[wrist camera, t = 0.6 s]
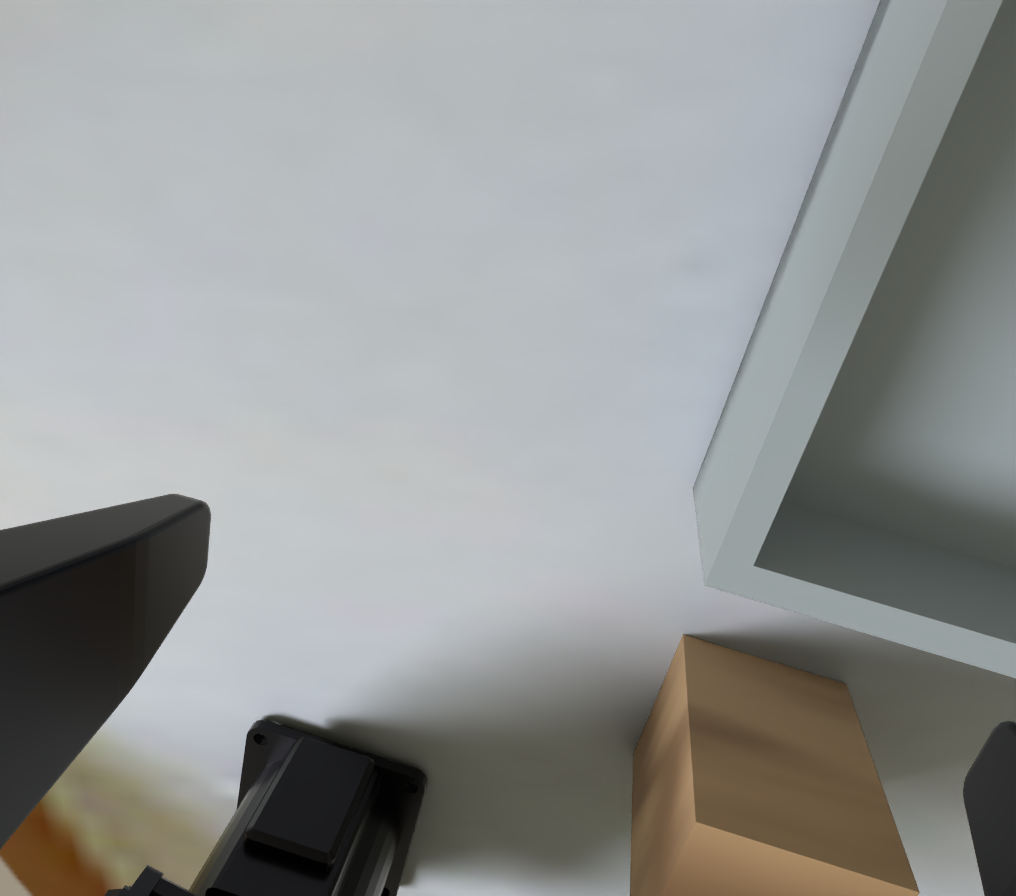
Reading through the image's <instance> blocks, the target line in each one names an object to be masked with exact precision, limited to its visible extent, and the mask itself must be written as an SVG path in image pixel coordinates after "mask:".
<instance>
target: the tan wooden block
mask: <svg viewBox="0 0 1016 896" xmlns="http://www.w3.org/2000/svg"><path fill="white" fill-rule="evenodd" d="M919 893H920V892H919V890H918V887H917V884H916V881H915V878H914V875H913V873H912V870H911V867H910V864H909V861H908V858H907V856H906V853H905V850H904V847H903V844H902V841H901V839H900V836H899V833H898V830H897V827H896V824H895V822H894V819H893V816H892V813H891V810H890V807H889V805H888V802H887V799H886V796H885V793H884V790H883V788H882V785H881V782H880V779H879V776H878V773H877V771H876V768H875V765H874V762H873V759H872V756H871V753H870V751H869V748H868V745H867V742H866V739H865V736H864V734H863V731H862V728H861V725H860V722H859V719H858V717H857V714H856V711H855V708H854V705H853V702H852V700H851V697H850V694H849V691H848V688H847V685H846V684H845V683H842V682H839V681H835V680H832V679H829V678H825V677H822V676H819V675H815V674H812V673H809V672H806V671H802V670H799V669H796V668H792V667H789V666H786V665H782V664H779V663H776V662H773V661H769V660H766V659H763V658H759V657H756V656H753V655H749V654H746V653H743V652H740V651H736V650H733V649H730V648H726V647H723V646H720V645H716V644H713V643H710V642H707V641H703V640H700V639H697V638H693V637H690V636H687V635H683V636H682V638H681V641H680V643H679V645H678V648H677V650H676V653H675V655H674V657H673V660H672V662H671V665H670V667H669V670H668V672H667V674H666V677H665V679H664V682H663V684H662V686H661V689H660V691H659V694H658V696H657V698H656V701H655V703H654V706H653V708H652V711H651V713H650V715H649V718H648V720H647V723H646V725H645V727H644V730H643V732H642V735H641V737H640V739H639V742H638V744H637V747H636V749H635V752H634V754H633V789H632V831H631V873H630V896H918V894H919Z"/></svg>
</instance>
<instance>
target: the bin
mask: <svg viewBox="0 0 1016 896" xmlns="http://www.w3.org/2000/svg"><path fill="white" fill-rule="evenodd" d="M693 494H694V502H695V510H696V519H697V527H698V536H699V544H700V552H701V561H702V569H703V577H704V585H705V586H709V587H712V588H715V589H719V590H722V591H725V592H729V593H732V594H735V595H739V596H742V597H745V598H749V599H752V600H755V601H759V602H762V603H765V604H769V605H772V606H775V607H779V608H782V609H785V610H789V611H792V612H795V613H799V614H802V615H805V616H809V617H812V618H815V619H819V620H822V621H826V622H829V623H832V624H836V625H839V626H842V627H846V628H849V629H852V630H856V631H859V632H862V633H866V634H869V635H872V636H876V637H879V638H882V639H886V640H889V641H892V642H896V643H899V644H902V645H906V646H909V647H912V648H916V649H919V650H922V651H926V652H929V653H932V654H936V655H939V656H943V657H946V658H949V659H953V660H956V661H959V662H963V663H966V664H969V665H973V666H976V667H979V668H983V669H986V670H989V671H993V672H996V673H999V674H1003V675H1006V676H1009V677H1013V678H1016V0H880V3H879V6H878V8H877V11H876V13H875V16H874V19H873V21H872V24H871V26H870V29H869V32H868V34H867V37H866V39H865V42H864V45H863V47H862V50H861V52H860V55H859V58H858V60H857V63H856V65H855V68H854V71H853V73H852V76H851V78H850V81H849V84H848V86H847V89H846V91H845V94H844V97H843V99H842V102H841V105H840V107H839V110H838V112H837V115H836V118H835V120H834V123H833V125H832V128H831V131H830V133H829V136H828V138H827V141H826V144H825V146H824V149H823V151H822V154H821V157H820V159H819V162H818V164H817V167H816V170H815V172H814V175H813V177H812V180H811V183H810V185H809V188H808V190H807V193H806V196H805V198H804V201H803V203H802V206H801V209H800V211H799V214H798V216H797V219H796V222H795V224H794V227H793V229H792V232H791V235H790V237H789V240H788V242H787V245H786V248H785V250H784V253H783V255H782V258H781V261H780V263H779V266H778V268H777V271H776V274H775V276H774V279H773V281H772V284H771V287H770V289H769V292H768V294H767V297H766V300H765V302H764V305H763V307H762V310H761V313H760V315H759V318H758V320H757V323H756V326H755V328H754V331H753V333H752V336H751V339H750V341H749V344H748V346H747V349H746V352H745V354H744V357H743V360H742V362H741V365H740V367H739V370H738V373H737V375H736V378H735V380H734V383H733V386H732V388H731V391H730V393H729V396H728V399H727V401H726V404H725V406H724V409H723V412H722V414H721V417H720V419H719V422H718V425H717V427H716V430H715V432H714V435H713V438H712V440H711V443H710V445H709V448H708V451H707V453H706V456H705V458H704V461H703V464H702V466H701V469H700V471H699V474H698V477H697V479H696V482H695V484H694V487H693Z"/></svg>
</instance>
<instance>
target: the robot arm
mask: <svg viewBox="0 0 1016 896" xmlns="http://www.w3.org/2000/svg"><path fill="white" fill-rule="evenodd" d="M210 522H211V512H210V508H209V506H208V505H207V503H206V502H204V501H201V500H197V499H194V498H190V497H186V496H183V495H179V494H169V495H164V496H159V497H154V498H150V499H145V500H140V501H136V502H131V503H126V504H121V505H117V506H112V507H107V508H103V509H98V510H93V511H89V512H84V513H79V514H74V515H70V516H65V517H60V518H56V519H51V520H46V521H41V522H37V523H32V524H27V525H23V526H18V527H13V528H8V529H4V530H0V849H1V848H2V846H3V845H4V844H5V843H6V842H7V840H8V839H9V838H10V837H11V836H12V834H13V833H14V832H15V831H16V829H17V828H18V827H19V826H20V825H21V823H22V822H23V821H24V820H25V819H26V817H27V816H28V815H29V814H30V812H31V811H32V810H33V809H34V808H35V806H36V805H37V804H38V803H39V802H40V800H41V799H42V798H43V797H44V795H45V794H46V793H47V792H48V791H49V789H50V788H51V787H52V786H53V785H54V783H55V782H56V781H57V780H58V778H59V777H60V776H61V775H62V774H63V772H64V771H65V770H66V769H67V768H68V766H69V765H70V764H71V763H72V761H73V760H74V759H75V758H76V757H77V755H78V754H79V753H80V752H81V751H82V749H83V748H84V747H85V746H86V744H87V743H88V742H89V741H90V740H91V738H92V737H93V736H94V735H95V734H96V732H97V731H98V730H99V729H100V727H101V726H102V725H103V724H104V723H105V721H106V720H107V719H108V718H109V717H110V715H111V714H112V713H113V712H114V710H115V709H116V708H117V707H118V706H119V704H120V703H121V702H122V700H123V699H124V698H125V697H126V695H127V694H128V693H129V692H130V690H131V689H132V688H133V686H134V685H135V683H136V682H137V680H138V679H139V677H140V676H141V675H142V673H143V672H144V670H145V669H146V667H147V666H148V664H149V663H150V661H151V659H152V658H153V656H154V655H155V653H156V652H157V650H158V649H159V647H160V646H161V644H162V643H163V641H164V639H165V638H166V636H167V635H168V633H169V632H170V630H171V629H172V627H173V626H174V624H175V623H176V621H177V620H178V618H179V616H180V615H181V613H182V612H183V610H184V609H185V607H186V606H187V604H188V603H189V601H190V600H191V598H192V597H193V595H194V593H195V592H196V590H197V589H198V587H199V586H200V584H201V582H202V580H203V578H204V575H205V572H206V568H207V561H208V548H209V535H210ZM261 734H262V735H264V736H265V737H264V736H262V735H261ZM410 782H412V783H414V784H411V783H410ZM426 787H427V777H426V775H425V774H424V773H423V772H422V771H421V770H419V769H416V768H413V767H410V766H407V765H404V764H401V763H398V762H395V761H391V760H388V759H385V758H382V757H379V756H376V755H373V754H369V753H366V752H363V751H360V750H357V749H354V748H351V747H348V746H344V745H341V744H338V743H335V742H332V741H329V740H326V739H322V738H319V737H316V736H313V735H310V734H307V733H304V732H301V731H297V730H294V729H291V728H288V727H285V726H282V725H279V724H276V723H272V722H269V721H265V720H259V721H256V722H255V723H254V724H253V725H252V727H251V728H250V730H249V731H248V734H247V738H246V745H245V753H244V760H243V767H242V775H241V782H240V789H239V797H238V804H237V811H236V812H235V814H234V816H233V817H232V819H231V821H230V822H229V824H228V826H227V827H226V829H225V831H224V832H223V834H222V836H221V837H220V839H219V841H218V842H217V844H216V846H215V847H214V849H213V851H212V852H211V854H210V856H209V857H208V859H207V861H206V862H205V864H204V866H203V867H202V869H201V871H200V872H199V874H198V876H197V877H196V879H195V881H194V882H193V884H192V886H191V887H190V889H189V891H188V890H186V889H184V888H183V887H181V886H179V885H177V884H175V883H173V882H171V881H169V880H167V879H165V878H164V877H162V876H163V874H164V873H162V872H160V871H158V870H156V869H154V868H152V867H150V866H149V865H147V867H146V868H145V869H144V871H143V872H142V873H141V875H140V876H139V877H138V879H137V880H136V881H135V883H134V884H133V886H132V887H131V886H129V887H128V886H126V885H125V886H124V888H123V889H114V890H108V892H107V893H106V894H105V896H396V895H397V892H398V889H399V886H400V882H401V878H402V875H403V871H404V867H405V864H406V860H407V856H408V853H409V849H410V845H411V842H412V838H413V834H414V831H415V827H416V823H417V820H418V816H419V812H420V809H421V805H422V801H423V798H424V794H425V790H426ZM963 796H964V803H965V808H966V812H967V817H968V821H969V826H970V830H971V835H972V840H973V844H974V849H975V853H976V858H977V863H978V867H979V872H980V876H981V881H982V885H983V890H984V895H985V896H1016V722H1011V721H1007V722H1003V723H1000V724H999V725H997V726H996V727H995V728H994V730H993V731H992V733H991V734H990V736H989V738H988V740H987V741H986V743H985V745H984V746H983V748H982V750H981V751H980V753H979V755H978V757H977V758H976V760H975V762H974V763H973V765H972V767H971V768H970V770H969V772H968V774H967V776H966V779H965V782H964V789H963Z"/></svg>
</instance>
